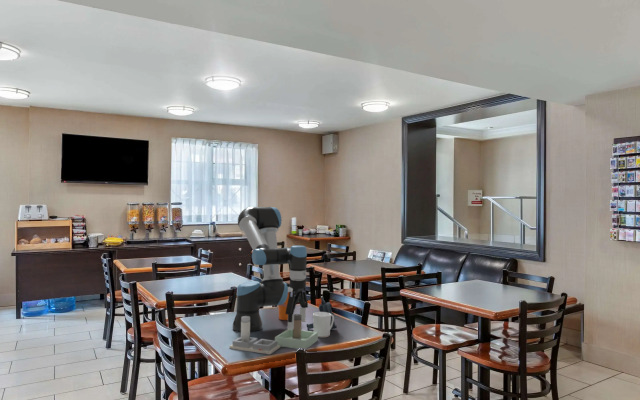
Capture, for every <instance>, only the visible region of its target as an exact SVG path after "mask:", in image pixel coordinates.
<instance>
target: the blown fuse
mask: <svg viewBox="0 0 640 400" xmlns="http://www.w3.org/2000/svg"><path fill="white" fill-rule="evenodd" d="M293 314H294V329H293V339H299V340H301V330H302V323H303V322H302V319H301V317H302V315H301V314H300V313H293Z"/></svg>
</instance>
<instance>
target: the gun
mask: <svg viewBox="0 0 640 400" xmlns="http://www.w3.org/2000/svg"><path fill="white" fill-rule="evenodd" d="M320 300H321V302H320V303H321V304H320V303H319V306H318V312H327V313H330V314H332V315H333V316H334V317H335V314H334V312H333V311H332V307H333V305H332V303H330V301H328V302H326V301H325V300H324V296H321V297H320ZM331 323H332V316H331ZM331 323H330V326H331ZM306 329H307V331H310V330H311V329H312V330H313V322H312V323H309V324H308V323H306ZM334 329H338V327H337V325H336V323H335V321H334V322H333V326H332V328H331V329H330V331H331V330H334Z"/></svg>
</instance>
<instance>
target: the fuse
mask: <svg viewBox="0 0 640 400" xmlns="http://www.w3.org/2000/svg"><path fill="white" fill-rule="evenodd" d="M240 337H241V341H243V342H249V341H250V337H251V332H250V316H242V317H241V332H240Z"/></svg>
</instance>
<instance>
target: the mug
mask: <svg viewBox="0 0 640 400" xmlns="http://www.w3.org/2000/svg"><path fill="white" fill-rule="evenodd" d="M331 316H332V323H331ZM333 322H335V315H334V316H333V315H332V314H330V313H327V312H320V311H317V312H313V313H312V323H313V328H312V330H313V331H312V332H318V338H328V337H330V334H331V330H332V329H331V328H332V326H333ZM330 323H331V326H330ZM330 329H331V330H330Z"/></svg>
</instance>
